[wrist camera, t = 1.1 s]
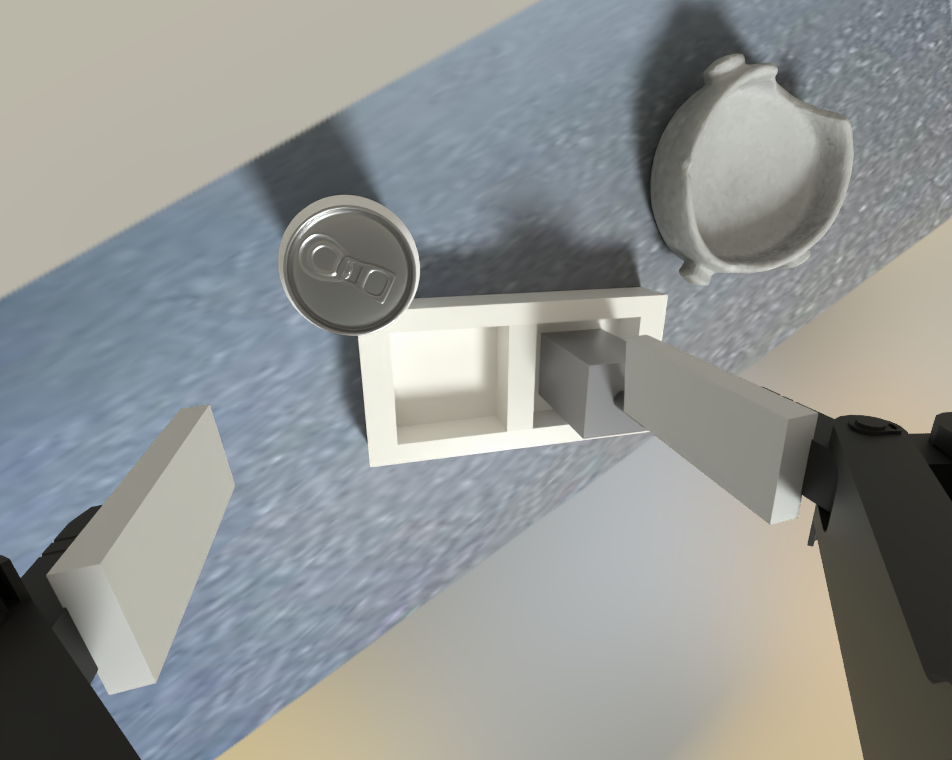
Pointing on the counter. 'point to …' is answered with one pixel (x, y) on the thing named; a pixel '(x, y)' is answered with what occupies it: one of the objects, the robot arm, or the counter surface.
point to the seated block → (586, 381)
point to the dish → (748, 173)
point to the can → (349, 265)
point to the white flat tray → (481, 369)
